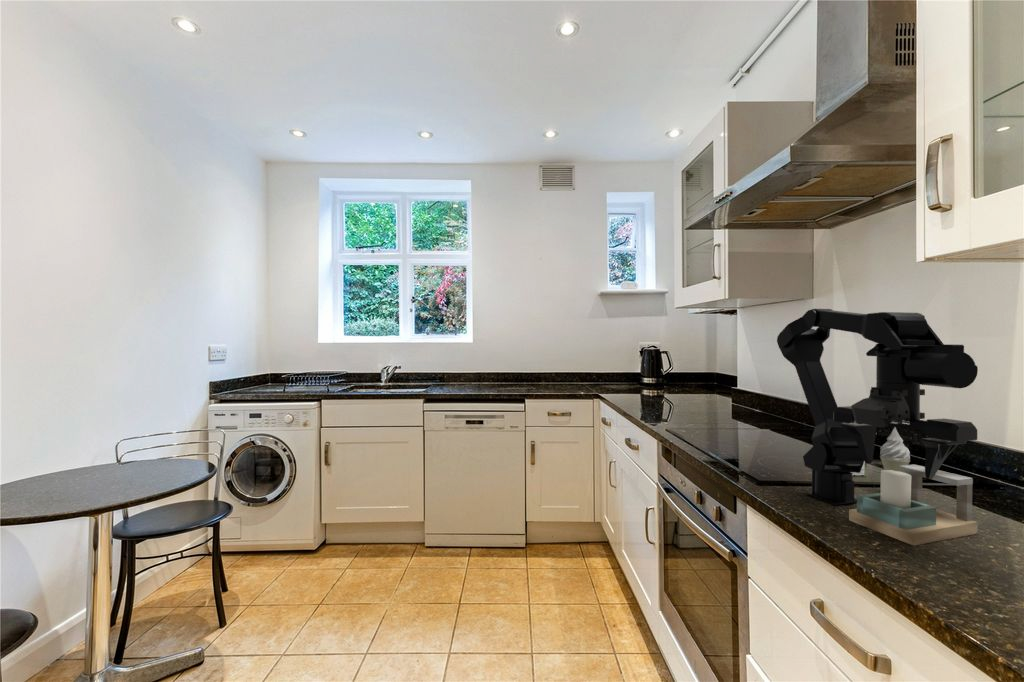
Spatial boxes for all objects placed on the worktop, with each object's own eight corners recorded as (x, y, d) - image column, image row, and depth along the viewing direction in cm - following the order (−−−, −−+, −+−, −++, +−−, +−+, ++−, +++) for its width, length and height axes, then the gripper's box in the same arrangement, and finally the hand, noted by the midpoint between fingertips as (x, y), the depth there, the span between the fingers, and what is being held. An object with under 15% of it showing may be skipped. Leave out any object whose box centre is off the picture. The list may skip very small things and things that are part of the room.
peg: (874, 514, 76) (875, 470, 76) (889, 512, 77) (890, 469, 77) (900, 524, 72) (901, 477, 72) (915, 521, 73) (917, 476, 73)
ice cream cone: (906, 494, 93) (907, 426, 93) (912, 501, 88) (913, 430, 88) (877, 489, 95) (877, 423, 95) (881, 496, 91) (882, 427, 91)
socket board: (849, 520, 78) (849, 469, 78) (909, 511, 83) (909, 463, 83) (913, 545, 69) (914, 487, 69) (977, 533, 73) (978, 479, 73)
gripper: (812, 378, 81) (811, 459, 81) (933, 388, 63) (932, 492, 63) (853, 378, 84) (853, 455, 84) (979, 387, 66) (979, 486, 66)
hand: (897, 470), depth 74 cm, fingers open, 9 cm apart
